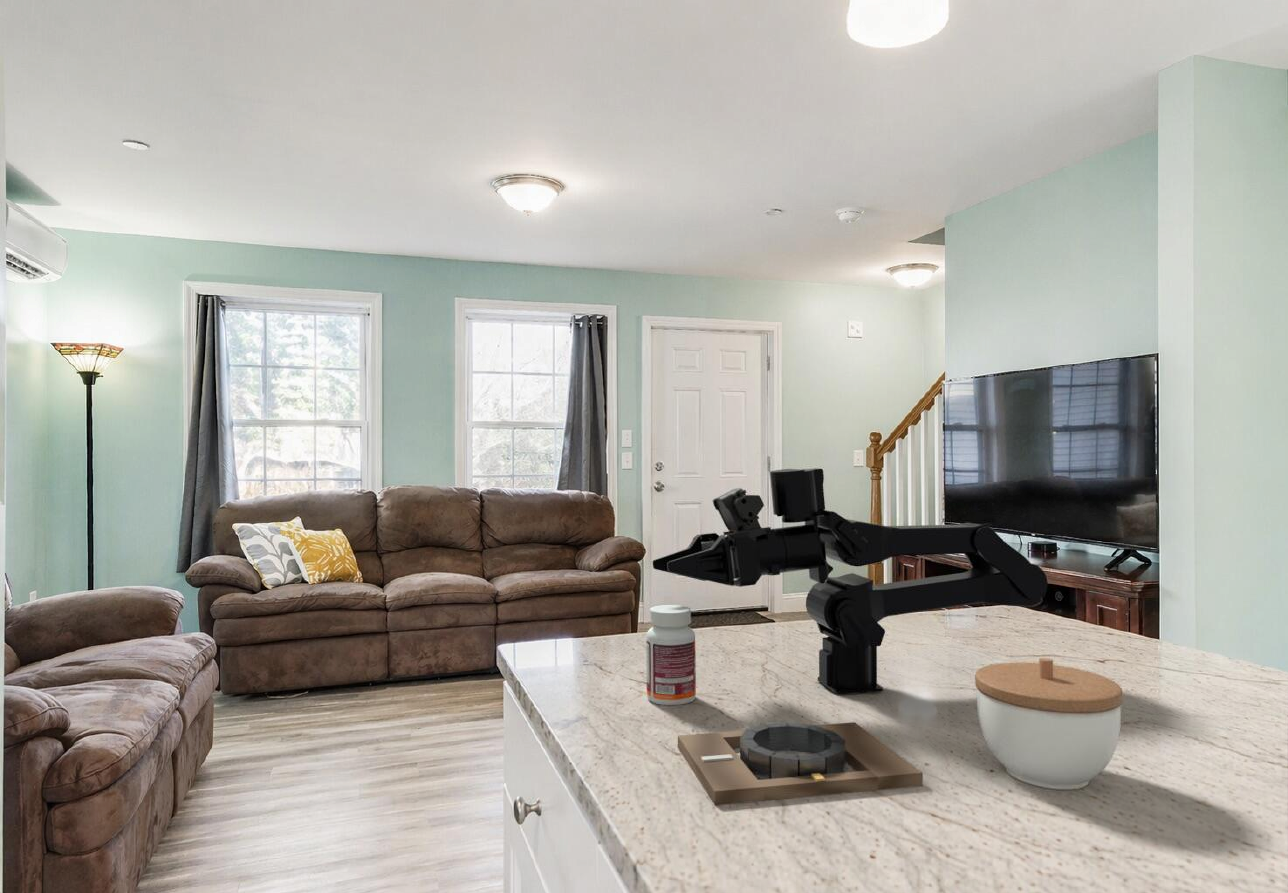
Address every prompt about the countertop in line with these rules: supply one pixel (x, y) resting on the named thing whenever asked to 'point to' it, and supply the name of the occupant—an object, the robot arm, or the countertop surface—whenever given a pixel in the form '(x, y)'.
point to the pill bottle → (670, 656)
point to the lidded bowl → (1049, 721)
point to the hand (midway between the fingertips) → (660, 565)
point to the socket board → (793, 762)
